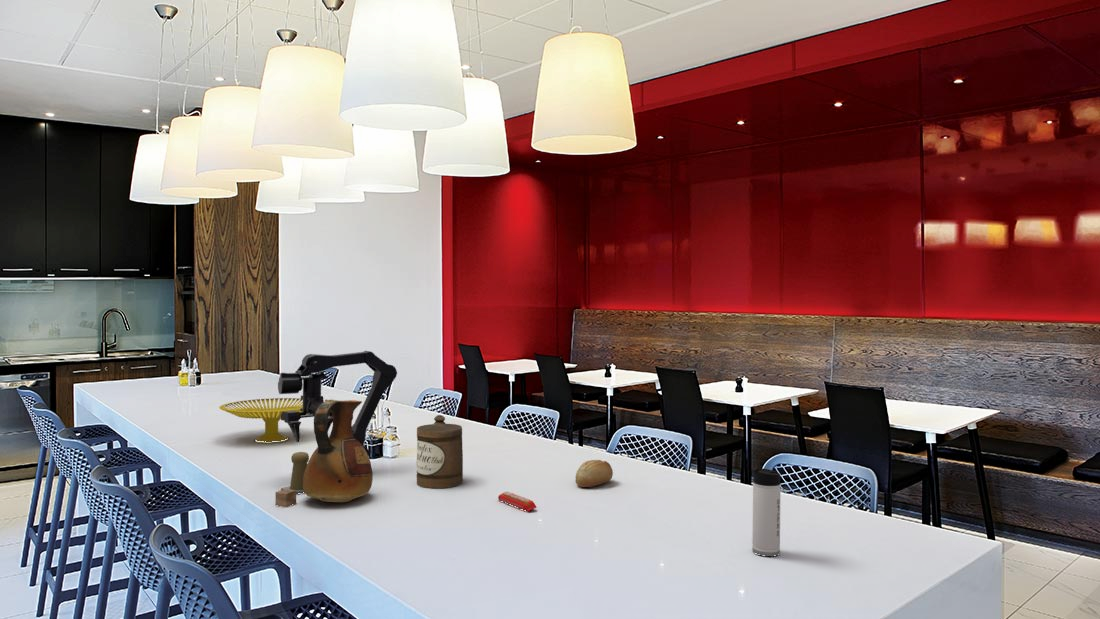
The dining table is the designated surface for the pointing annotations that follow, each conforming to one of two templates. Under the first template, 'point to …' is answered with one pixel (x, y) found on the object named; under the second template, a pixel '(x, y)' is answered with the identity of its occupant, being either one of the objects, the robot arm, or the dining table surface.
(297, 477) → the cork
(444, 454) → the wooden container
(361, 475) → the ceramic pitcher
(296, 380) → the robot arm
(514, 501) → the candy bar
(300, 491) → the coaster
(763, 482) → the travel mug
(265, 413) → the cake stand
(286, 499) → the walnut block
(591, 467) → the bread roll
